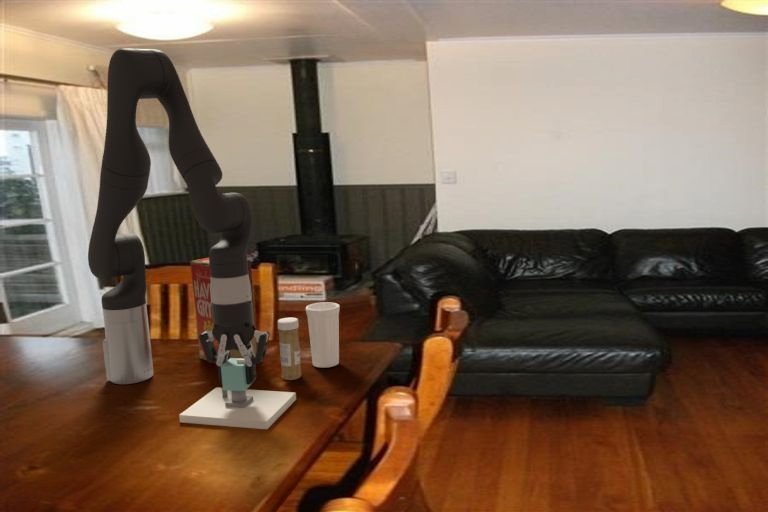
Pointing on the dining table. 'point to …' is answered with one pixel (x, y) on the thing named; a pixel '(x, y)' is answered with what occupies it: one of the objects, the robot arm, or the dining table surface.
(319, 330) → the cup
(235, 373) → the mint cube with tab
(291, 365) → the sprinkles bottle
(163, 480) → the dining table surface
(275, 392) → the stud board
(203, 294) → the food packaging
